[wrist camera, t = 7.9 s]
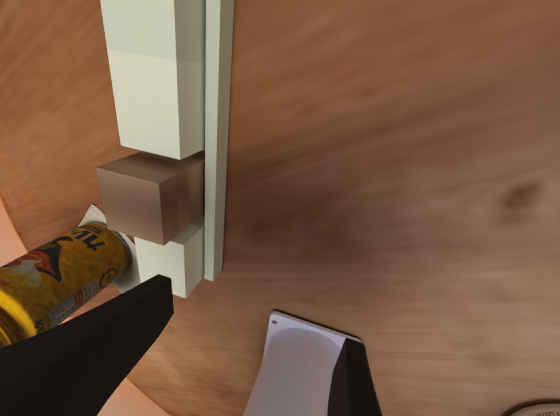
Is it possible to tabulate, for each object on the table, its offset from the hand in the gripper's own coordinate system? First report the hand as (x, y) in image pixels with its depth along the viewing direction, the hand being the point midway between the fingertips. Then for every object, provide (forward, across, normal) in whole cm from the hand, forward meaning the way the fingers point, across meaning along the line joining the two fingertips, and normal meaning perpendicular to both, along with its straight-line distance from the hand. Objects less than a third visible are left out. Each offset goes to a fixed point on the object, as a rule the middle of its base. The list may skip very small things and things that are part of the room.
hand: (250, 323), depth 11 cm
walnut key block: (+10, +9, -1) cm, 13 cm away
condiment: (+10, +18, +10) cm, 23 cm away
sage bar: (+10, +9, -3) cm, 14 cm away
